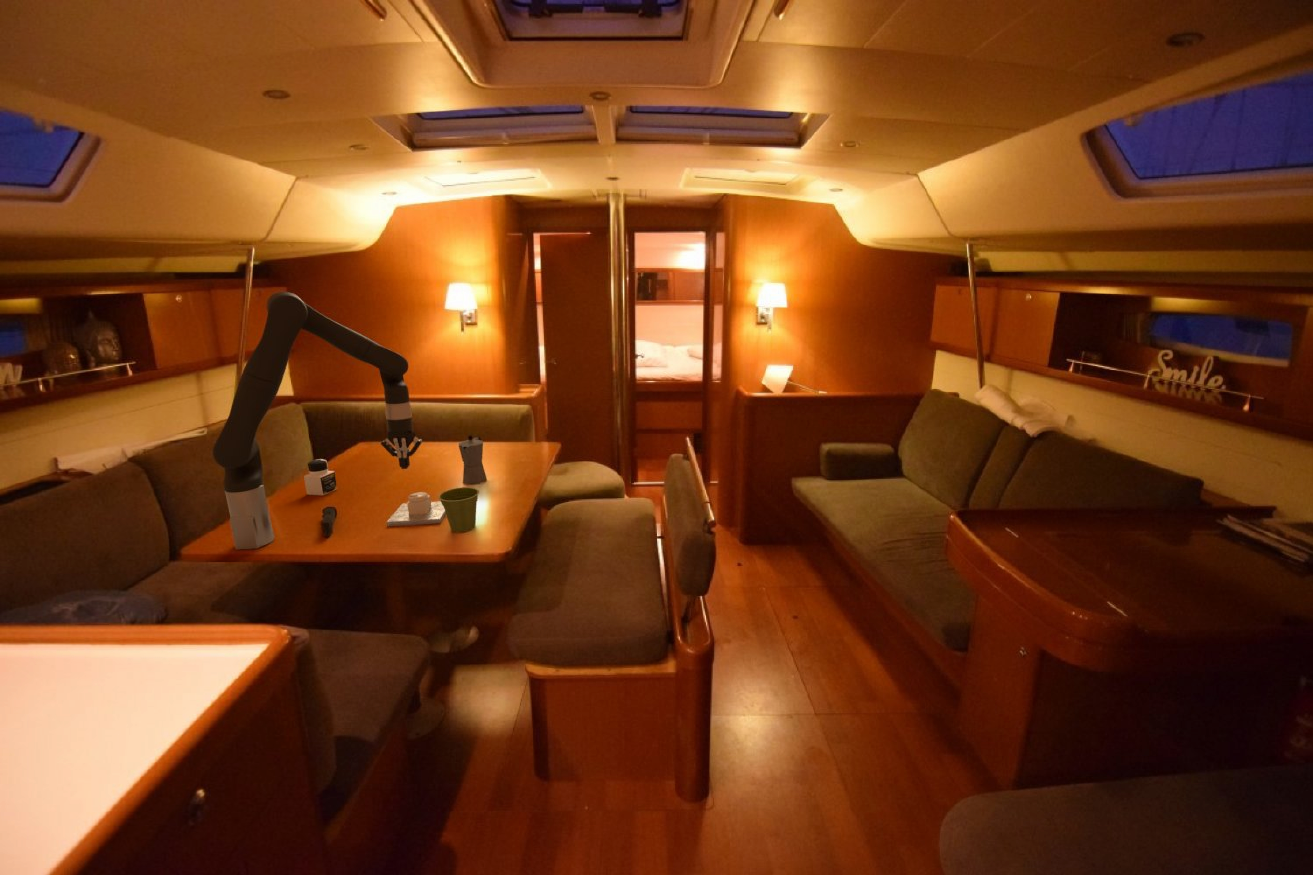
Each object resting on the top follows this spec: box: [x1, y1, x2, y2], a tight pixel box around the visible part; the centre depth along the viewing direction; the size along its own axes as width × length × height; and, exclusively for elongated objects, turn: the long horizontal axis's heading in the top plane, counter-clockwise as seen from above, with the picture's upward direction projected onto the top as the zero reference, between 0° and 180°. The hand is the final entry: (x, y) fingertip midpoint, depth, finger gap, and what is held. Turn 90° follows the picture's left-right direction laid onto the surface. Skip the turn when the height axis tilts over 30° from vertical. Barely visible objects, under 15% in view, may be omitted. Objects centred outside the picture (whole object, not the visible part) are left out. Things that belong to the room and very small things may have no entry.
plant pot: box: [438, 486, 480, 533], centre depth 180 cm, size 12×12×11 cm
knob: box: [406, 491, 432, 515], centre depth 191 cm, size 6×6×5 cm
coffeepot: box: [458, 434, 487, 486], centre depth 224 cm, size 15×9×18 cm, turn 174°
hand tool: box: [321, 506, 338, 539], centre depth 183 cm, size 19×4×5 cm, turn 23°
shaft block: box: [386, 500, 446, 527], centre depth 192 cm, size 16×16×5 cm
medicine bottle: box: [303, 458, 338, 496], centre depth 215 cm, size 7×7×12 cm
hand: (404, 468), depth 192 cm, fingers closed
